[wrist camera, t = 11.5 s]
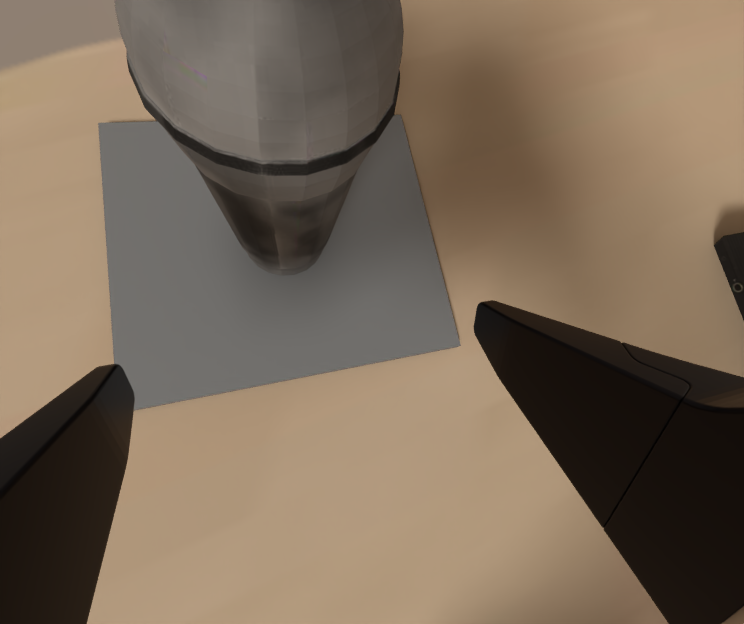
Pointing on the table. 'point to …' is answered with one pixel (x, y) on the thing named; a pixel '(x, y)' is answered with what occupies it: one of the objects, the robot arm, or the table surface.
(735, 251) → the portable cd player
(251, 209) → the beverage cup
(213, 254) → the rubber mat
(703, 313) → the table surface
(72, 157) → the table surface
